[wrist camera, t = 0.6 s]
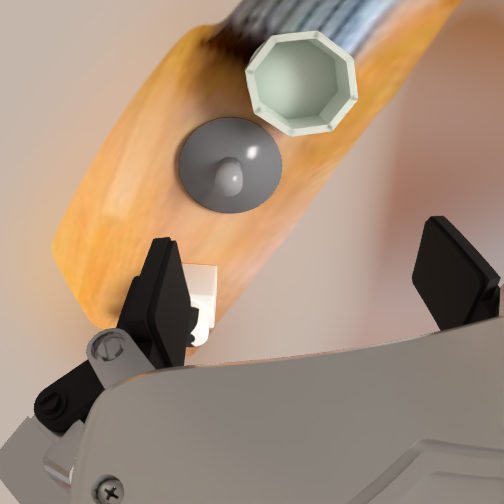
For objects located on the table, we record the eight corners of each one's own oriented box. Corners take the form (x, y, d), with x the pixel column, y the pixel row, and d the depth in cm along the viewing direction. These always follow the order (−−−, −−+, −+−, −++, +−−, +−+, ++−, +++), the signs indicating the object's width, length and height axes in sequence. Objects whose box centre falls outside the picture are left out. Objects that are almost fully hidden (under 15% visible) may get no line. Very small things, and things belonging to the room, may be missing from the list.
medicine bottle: (175, 294, 54) (163, 350, 44) (172, 261, 50) (157, 318, 40) (216, 297, 54) (211, 354, 45) (217, 264, 50) (212, 322, 40)
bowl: (283, 15, 29) (290, 9, 24) (359, 72, 33) (378, 77, 28) (227, 89, 34) (224, 97, 30) (304, 140, 39) (314, 155, 34)
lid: (214, 97, 35) (209, 106, 31) (301, 152, 40) (309, 169, 35) (163, 180, 42) (153, 200, 37) (244, 224, 46) (244, 249, 42)
